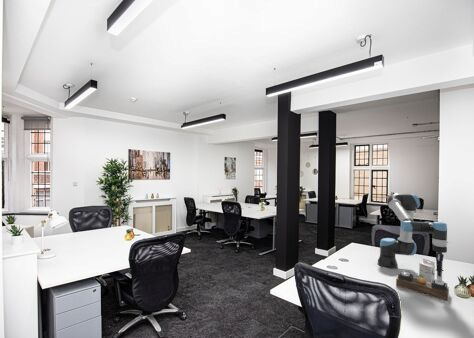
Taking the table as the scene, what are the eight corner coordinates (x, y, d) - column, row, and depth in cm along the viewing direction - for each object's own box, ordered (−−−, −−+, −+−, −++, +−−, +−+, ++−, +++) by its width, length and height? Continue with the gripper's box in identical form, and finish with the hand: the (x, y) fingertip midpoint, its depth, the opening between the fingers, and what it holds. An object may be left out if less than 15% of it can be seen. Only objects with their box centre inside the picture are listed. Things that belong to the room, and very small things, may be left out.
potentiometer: (418, 280, 173) (418, 276, 173) (426, 282, 170) (426, 278, 170) (417, 282, 170) (417, 277, 170) (425, 284, 167) (425, 279, 167)
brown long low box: (399, 280, 184) (400, 270, 184) (448, 294, 164) (448, 282, 164) (396, 285, 175) (396, 274, 175) (447, 300, 156) (447, 288, 156)
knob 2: (434, 284, 167) (434, 278, 167) (444, 287, 163) (444, 281, 163) (434, 286, 163) (434, 280, 163) (443, 289, 160) (443, 283, 160)
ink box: (418, 277, 190) (418, 258, 191) (422, 276, 192) (422, 258, 193) (431, 282, 182) (431, 262, 183) (435, 281, 184) (435, 261, 185)
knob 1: (402, 276, 180) (402, 270, 180) (410, 278, 176) (410, 273, 176) (400, 278, 176) (400, 272, 176) (408, 280, 173) (408, 274, 173)
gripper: (446, 248, 156) (445, 285, 156) (447, 244, 166) (447, 279, 165) (431, 246, 162) (431, 281, 161) (433, 242, 171) (433, 276, 170)
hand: (439, 280), depth 163 cm, fingers closed
